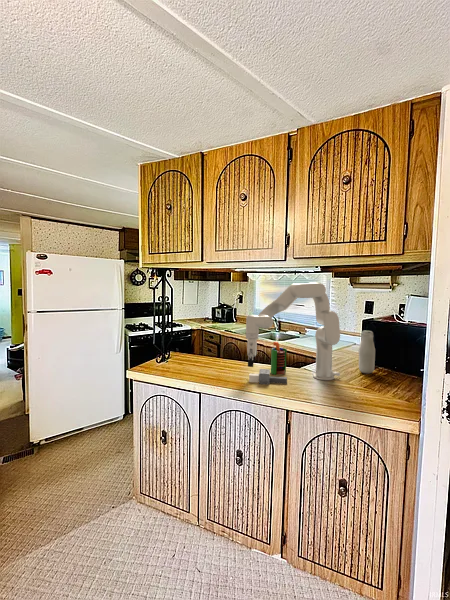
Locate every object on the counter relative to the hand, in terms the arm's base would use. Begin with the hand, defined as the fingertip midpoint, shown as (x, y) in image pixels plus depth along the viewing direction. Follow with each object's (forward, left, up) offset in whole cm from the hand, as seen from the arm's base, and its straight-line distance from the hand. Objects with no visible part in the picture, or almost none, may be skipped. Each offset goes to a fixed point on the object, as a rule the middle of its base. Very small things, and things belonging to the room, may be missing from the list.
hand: (251, 364), depth 197 cm
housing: (-8, 0, -10) cm, 13 cm away
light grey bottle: (-73, -30, -10) cm, 80 cm away
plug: (-10, 0, -10) cm, 14 cm away
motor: (-16, -20, -10) cm, 28 cm away
